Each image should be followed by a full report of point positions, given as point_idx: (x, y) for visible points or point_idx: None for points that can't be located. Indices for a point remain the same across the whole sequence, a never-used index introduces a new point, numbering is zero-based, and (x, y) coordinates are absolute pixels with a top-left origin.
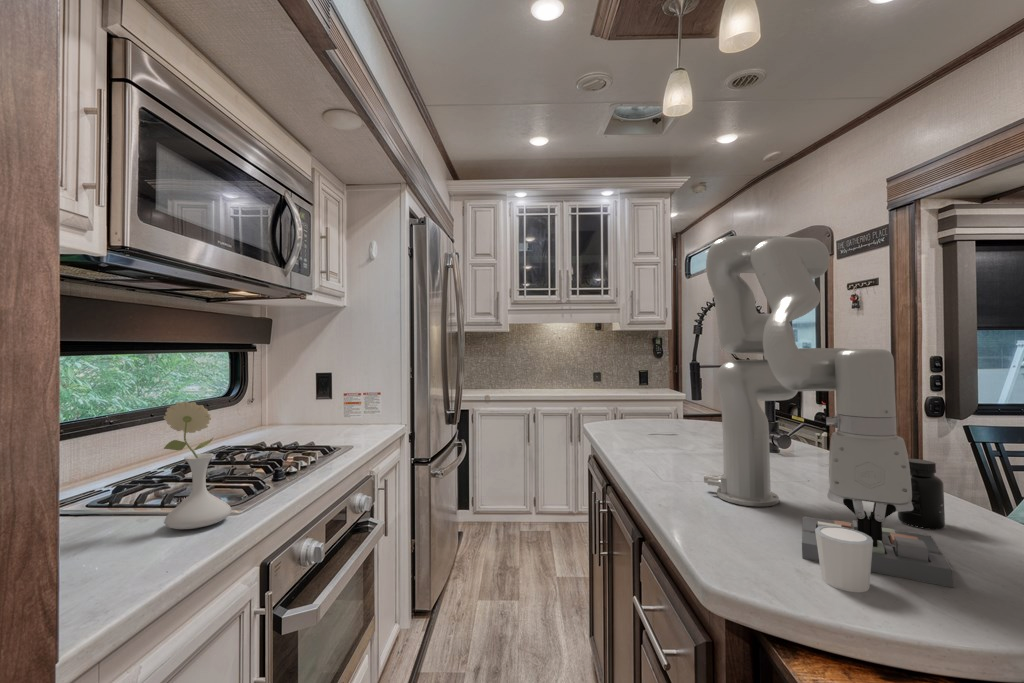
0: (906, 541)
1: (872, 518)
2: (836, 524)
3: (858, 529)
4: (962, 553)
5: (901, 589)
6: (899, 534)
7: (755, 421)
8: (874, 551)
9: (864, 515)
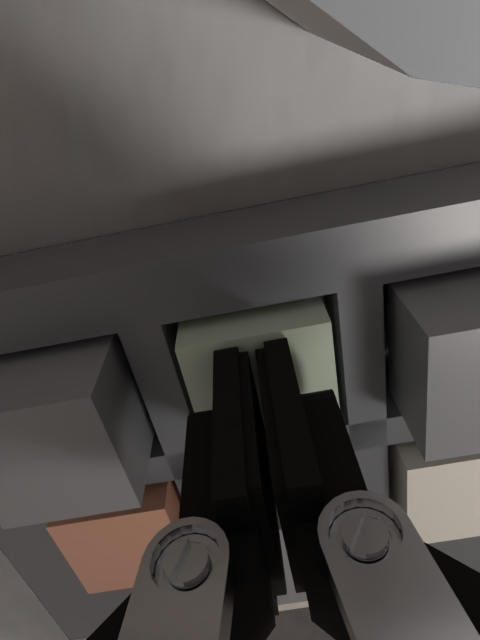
0: (63, 467)
1: (250, 540)
2: (429, 541)
3: (341, 422)
4: (10, 605)
5: (62, 43)
6: None
7: None
8: (229, 324)
9: (323, 537)
